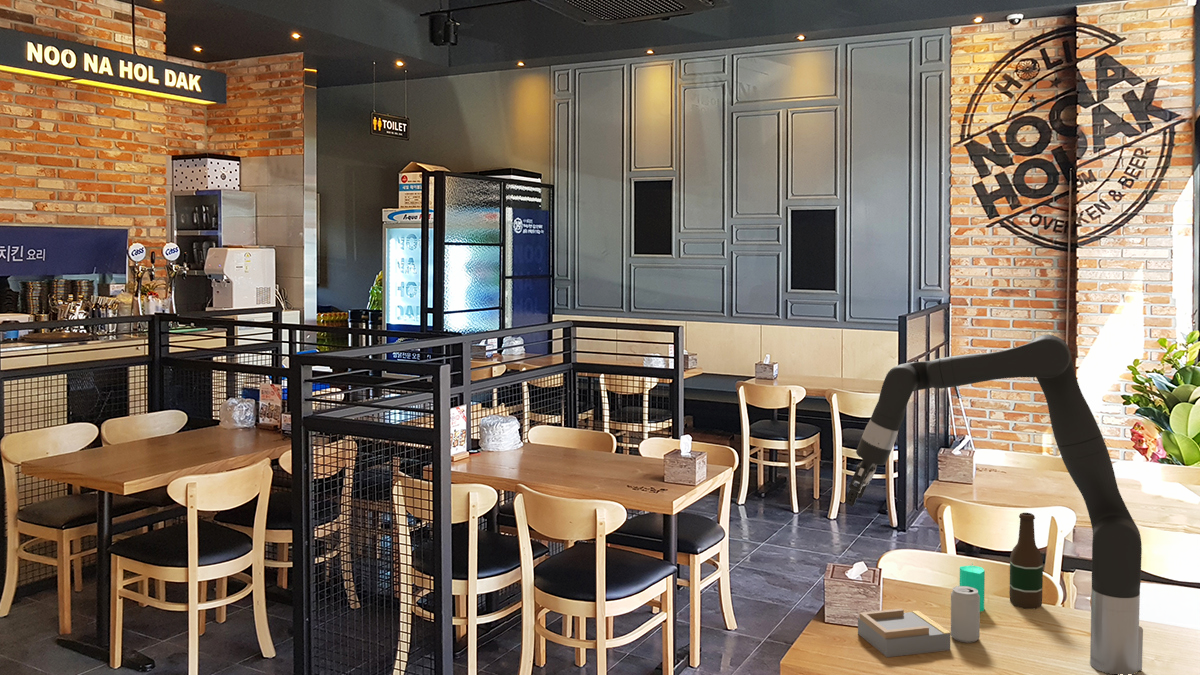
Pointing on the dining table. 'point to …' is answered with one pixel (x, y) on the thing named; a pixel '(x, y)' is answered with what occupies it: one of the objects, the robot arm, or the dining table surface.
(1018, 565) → the beer bottle
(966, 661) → the dining table surface
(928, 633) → the dock
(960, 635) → the beverage can
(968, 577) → the candle
